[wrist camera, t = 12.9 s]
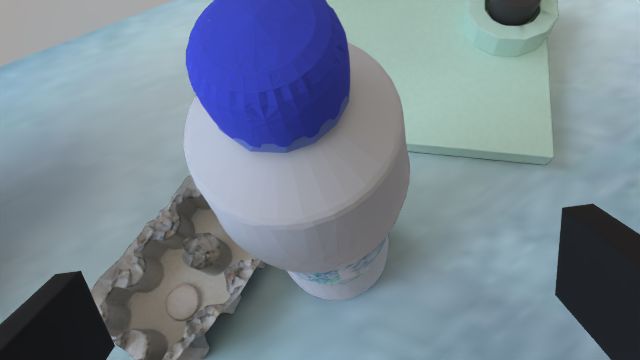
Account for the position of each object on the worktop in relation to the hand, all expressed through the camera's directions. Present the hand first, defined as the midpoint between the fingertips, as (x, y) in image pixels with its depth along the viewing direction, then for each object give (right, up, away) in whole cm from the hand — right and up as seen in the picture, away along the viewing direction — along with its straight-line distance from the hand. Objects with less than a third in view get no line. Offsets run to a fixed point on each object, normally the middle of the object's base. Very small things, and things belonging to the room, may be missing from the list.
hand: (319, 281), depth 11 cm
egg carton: (-8, -4, +15) cm, 18 cm away
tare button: (+14, +15, +17) cm, 27 cm away
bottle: (+1, -2, +15) cm, 15 cm away
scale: (+8, +11, +19) cm, 24 cm away
